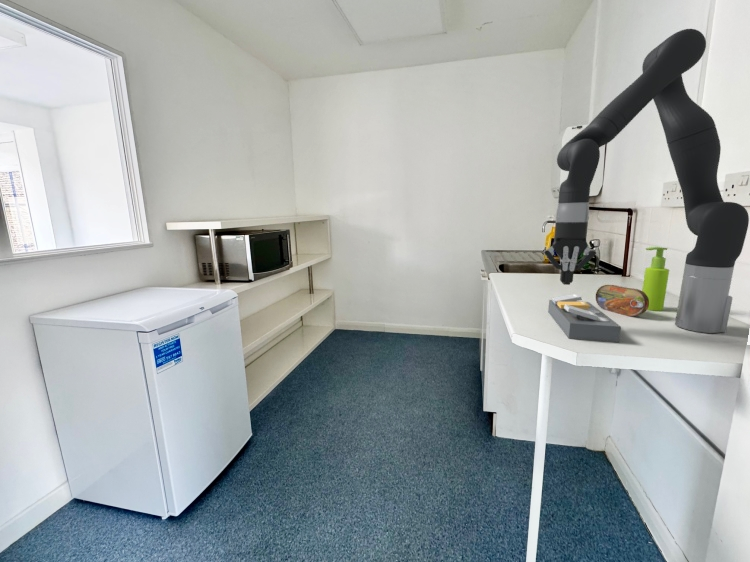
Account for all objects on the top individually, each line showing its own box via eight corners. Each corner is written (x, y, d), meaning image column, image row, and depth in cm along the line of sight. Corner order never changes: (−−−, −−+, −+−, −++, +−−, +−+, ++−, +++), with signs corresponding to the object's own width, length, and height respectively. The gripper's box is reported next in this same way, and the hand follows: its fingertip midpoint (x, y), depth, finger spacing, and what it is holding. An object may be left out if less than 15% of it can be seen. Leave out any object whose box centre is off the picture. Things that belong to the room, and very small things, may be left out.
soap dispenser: (632, 306, 114) (640, 246, 110) (653, 306, 114) (662, 246, 110) (645, 311, 109) (654, 248, 105) (667, 311, 108) (678, 248, 104)
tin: (593, 307, 114) (596, 282, 112) (600, 306, 115) (603, 281, 113) (641, 319, 100) (645, 291, 99) (648, 318, 101) (653, 291, 100)
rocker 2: (584, 305, 96) (584, 301, 96) (589, 309, 92) (589, 305, 92) (557, 304, 98) (557, 301, 98) (560, 308, 94) (560, 304, 94)
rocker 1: (577, 296, 103) (577, 293, 102) (581, 300, 99) (581, 296, 99) (552, 301, 105) (551, 297, 105) (555, 304, 101) (554, 301, 101)
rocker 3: (591, 315, 90) (593, 312, 90) (596, 320, 86) (598, 316, 86) (563, 307, 91) (565, 303, 91) (567, 311, 87) (569, 307, 87)
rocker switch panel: (587, 314, 106) (588, 299, 105) (618, 342, 83) (621, 323, 82) (548, 312, 108) (549, 297, 108) (568, 338, 86) (570, 320, 85)
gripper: (594, 219, 93) (588, 282, 96) (541, 220, 96) (537, 280, 100) (605, 220, 86) (597, 287, 89) (547, 221, 89) (542, 286, 93)
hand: (565, 284), depth 94 cm, fingers closed
